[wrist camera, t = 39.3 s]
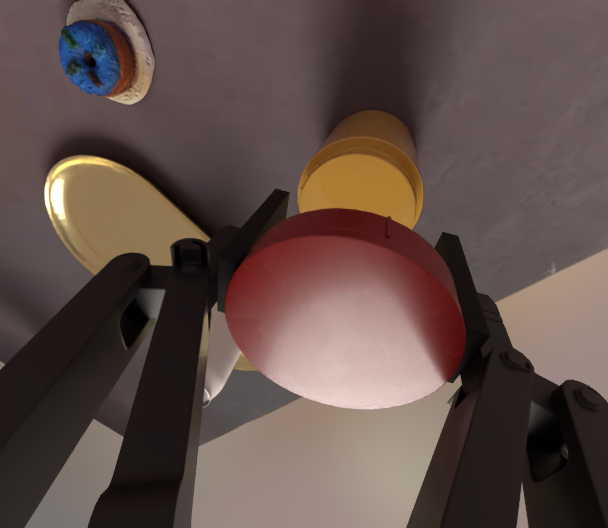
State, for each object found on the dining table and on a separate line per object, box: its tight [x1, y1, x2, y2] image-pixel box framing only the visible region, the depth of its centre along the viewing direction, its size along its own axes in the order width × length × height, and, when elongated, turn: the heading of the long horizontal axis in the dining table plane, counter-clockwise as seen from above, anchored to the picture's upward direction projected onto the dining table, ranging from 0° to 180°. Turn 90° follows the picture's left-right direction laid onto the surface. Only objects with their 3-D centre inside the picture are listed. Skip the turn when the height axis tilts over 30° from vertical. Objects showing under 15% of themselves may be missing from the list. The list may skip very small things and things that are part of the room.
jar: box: [298, 110, 424, 230], centre depth 22 cm, size 8×8×10 cm
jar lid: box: [225, 208, 466, 409], centre depth 11 cm, size 8×8×2 cm
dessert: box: [59, 0, 155, 105], centre depth 25 cm, size 8×7×6 cm
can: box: [202, 302, 241, 408], centre depth 33 cm, size 6×6×12 cm
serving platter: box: [44, 154, 258, 371], centre depth 39 cm, size 19×35×2 cm, turn 44°
